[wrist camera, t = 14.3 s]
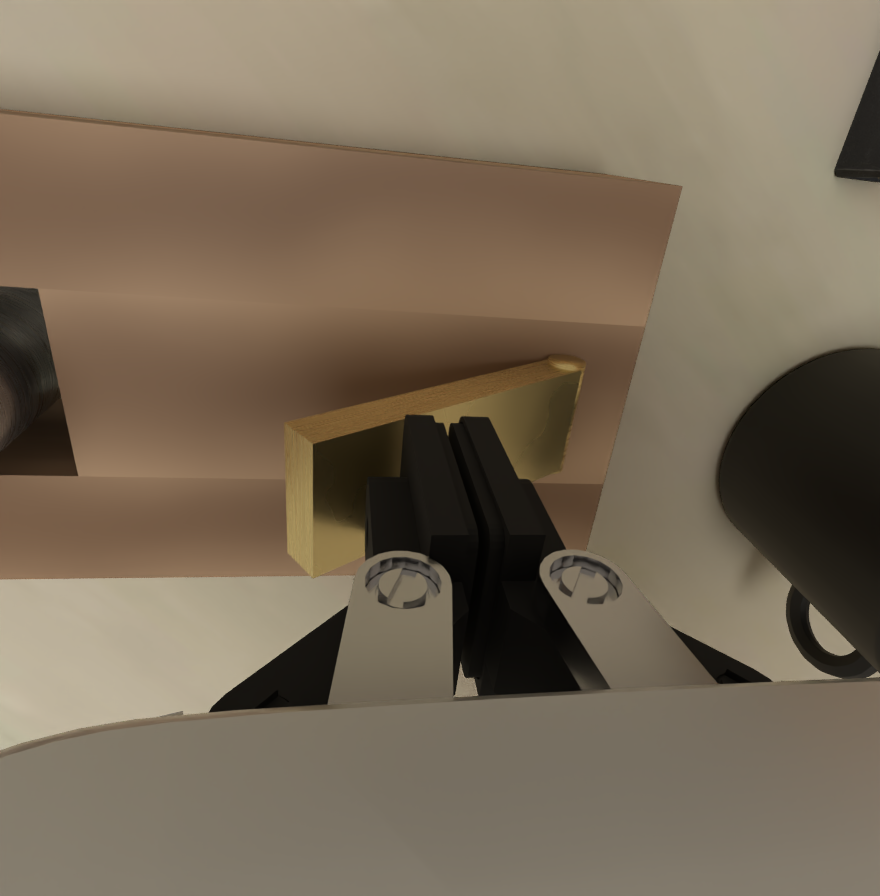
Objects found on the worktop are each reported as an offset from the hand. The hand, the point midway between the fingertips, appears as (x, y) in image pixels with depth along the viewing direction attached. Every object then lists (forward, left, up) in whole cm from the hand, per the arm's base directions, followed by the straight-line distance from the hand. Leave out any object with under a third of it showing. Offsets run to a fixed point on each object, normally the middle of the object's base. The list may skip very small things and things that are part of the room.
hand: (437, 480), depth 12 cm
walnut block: (0, +5, -10) cm, 11 cm away
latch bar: (0, -1, -2) cm, 2 cm away
